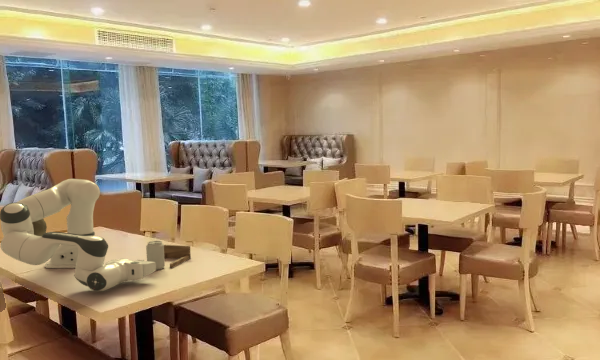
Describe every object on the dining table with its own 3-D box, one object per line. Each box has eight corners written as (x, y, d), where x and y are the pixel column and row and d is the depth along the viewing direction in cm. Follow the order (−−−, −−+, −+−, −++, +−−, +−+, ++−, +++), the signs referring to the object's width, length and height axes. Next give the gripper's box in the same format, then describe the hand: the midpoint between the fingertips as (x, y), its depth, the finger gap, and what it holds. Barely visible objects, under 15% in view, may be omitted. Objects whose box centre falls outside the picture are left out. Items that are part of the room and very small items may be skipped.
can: (159, 271, 219) (158, 243, 218) (144, 270, 221) (142, 243, 220) (167, 266, 227) (166, 240, 225) (152, 265, 228) (151, 239, 227)
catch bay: (172, 267, 224) (171, 254, 224) (145, 266, 228) (144, 253, 227) (190, 258, 241) (190, 245, 240) (165, 256, 244) (164, 244, 244)
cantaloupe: (39, 236, 298) (37, 211, 297) (52, 239, 290) (50, 213, 289) (14, 241, 287) (12, 215, 286) (26, 244, 279) (25, 217, 277)
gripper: (99, 276, 202) (120, 267, 215) (144, 279, 197) (163, 270, 210) (98, 261, 201) (119, 253, 215) (143, 263, 196) (162, 255, 209)
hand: (141, 261), depth 212 cm, fingers closed
